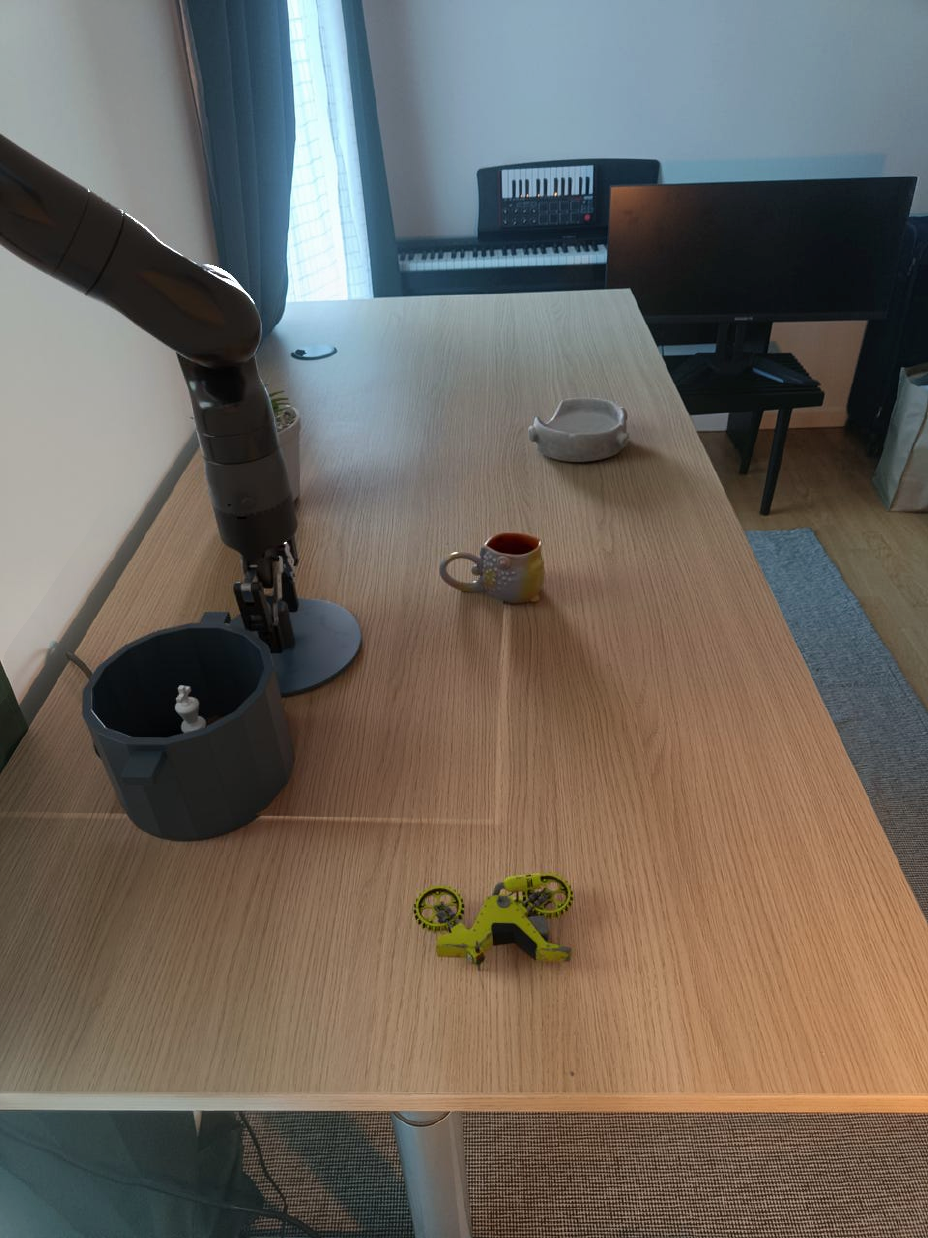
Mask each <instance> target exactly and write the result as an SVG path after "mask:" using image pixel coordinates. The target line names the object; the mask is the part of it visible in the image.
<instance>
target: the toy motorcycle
mask: <svg viewBox="0 0 928 1238" xmlns="http://www.w3.org/2000/svg"><path fill="white" fill-rule="evenodd" d="M550 883H555V884H557V886H558V888H557V889H555V890H551V889H549V888H548V885H549V884H550ZM542 886H543V889H542ZM541 889H542V890H541ZM502 890H505V891H506V892H508V893H509V894H507V893H503V894H500V892H501V891H502ZM539 890H540V891H539ZM519 892H521V893H522V896H519ZM514 894H515V896H516V897H511V896H512V895H514ZM557 894H562V895H563V896H564V897H565V899H564V900H563V901H558V900H556V899H555V896H556V895H557ZM445 895H447V896H449V897H450V900H449V902H447V903H444V901H442V900H441V897H442V896H445ZM430 897H434V898H435V900H436V902H435V903H434V904H432V905H431V904H430V905H429V904H427V902H426V900H427V899H428V898H430ZM573 901H574V890H573V889H572V885H571V884H568V880H567V879H564V877H563V875H561V876H559V875H558V873H556V872H555V873H554V874H553V873H551V871H548V873H545V871H542V873H540V872H536V873H530V874H518V875H510V876H507V877H506V878H505V879H504V880H502V881H499V882H497V883H496V884H495V886H494V888H493V892H492V894H491V895H489V896H487V897H486V899H484V902H483V904H481V907H480V909H479V911H478V913H477V916H476V917H475V919H474V921H473V924H472V926H471V928H470V929H467V927H466V926H465V925H464V923H463V922H461V921H463V919H464V917H463V915H465V902H464V898H463V896H461V892H459V891H458V892H457V889H456V888H455V887H454V888H451V886H450V885H448V886H445V884H443V883H442V884H441V885H439V884H435V886H432V885H430V886H429V888H424V889H423V892H420V891H419V893H418V897H417V896H416V897H415V902H413V907H414V908H413V909H412V911H413V915H414V920H415V921H416V922H417V925H418V926H420V925H421V929H422V930H424V929H426V932H427V933H430V931H431V932H433V934H436V932H437V933H438V932H440V934H439V935H438V937H437V942H436V946H435V947H436V955H437V958H455V959H456V958H457V959H466V962H468V964H469V965H473V966H474V967H477V971H478V972H480V971H481V965H482V963H484V962H485V961H486V952H488V951H489V950H490V948H492V947H493V946H494V947H495V946H502V945H503V946H504V945H511V944H514V945H515V946H517V947H518V948H519V949H520V950H522V951H523V952H524V953H525V954H526V955H528V956H529V958H531V959H533V960H534V961H538V962H559V963H569V962H570V961H571V960H572V957H573V956H572V953H573V948H572V947H569V946H564V945H559V944H556V943H555V944H554V943H550V942H549V929H548V925H547V919H550V921H554V919H557V920H559V919H560V917H561V916H563V917H564V916H565V915H566V912H567V913H569V912H570V908H572V906H573ZM552 903H553V904H554V905H555V908H554V909H552V910H548V909H547V906H548V905H551V904H552ZM451 906H452V907H454V908H455V909H456V911H455V912H454V911H453V910H452V908H451ZM427 909H429V910H432V912H433V914H432V915H431V916H430V917H424V915H423V911H425V910H427ZM529 912H531V913H529ZM435 918H437V919H438V920H437V922H438V923H437V922H436V921H435ZM445 931H446V932H447V933H445V934H443V932H445Z"/></svg>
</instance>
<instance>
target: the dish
mask: <svg viewBox="0 0 928 1238" xmlns="http://www.w3.org/2000/svg"><path fill="white" fill-rule="evenodd" d="M533 421H534V422H533V425H530V426H529V427H528V430H527V431H528V439H529V441H530V442H532V443H535V445H536V448H537V450H538V452H539V453H540V454H542V455H544V456H545V457H548V458H550V459H553V460H557V461H562V462H568V463H569V462H570V463H587V462H594V461H599V460H604V459H607V458H610V457H613V456H615V455H617V454H618V453H619V452H621V450H622V449H624V448H625V447H626V446H627V445H628V444H629V439H630V433H629V432H627V421H628V412H627V410H626V407H624V406H619V405H618V404H617V403H615V402H613V401H611V400H608V399H604V398H598V397H597V398H595V397H574V398H567V399H566V398H565V399H563V400H561V401H560V403H559V404H558V406H557V408H556V410H555V412H554V414H553V415H552V417H551V418H550V420H549V421H548V422H543V421H542V419H541V418H540V416H536V417H535V418H534V420H533Z"/></svg>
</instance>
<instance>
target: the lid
mask: <svg viewBox="0 0 928 1238" xmlns="http://www.w3.org/2000/svg"><path fill="white" fill-rule="evenodd" d="M298 602H299V608H298V611H297V612H289V610H288V605H287V603H286V602H284V601H279V602H278V618H279V624H280V629H281V633H282V638H283V642H284V649H283V652H282V653H271V657H272V661H273V665H274V669H275V673H276V677H277V682H278V686H279V690H280V694H281V698H283V697H290V696H294V695H299V694H303V693H306V692H309V691H311V690H314V689H317V688H319V687H321V686H324V685H325V684H327V683H330V682H331V681H332V680H334V679H336V678H337V677H338V676H340V675H341V674H343V673H344V672H345V671H346V670H347V669H348V668H349V667H350V666H351V665H352V664H353V662H354V661H355V660H356V658H357V656H358V654H359V653H360V650H361V647H362V642H363V637H362V636H363V634H362V629H361V625H360V624H359V622H358V620H357V618H356V617H355V616H354V615H353V613H351V612H350V611H349V610H347V609H346V608H344V607H342V606H341V605H339V604H336V603H334V602H330V601H328V600H322V599H317V598H303V597H301V598H298ZM267 604H268V603H267ZM268 608H269V611H270V606H269V604H268ZM229 625H232V626H236V627H239V628H243V629H245V627H244V624H243V620H242V617H241V614H240V613H239V614H237V615H235V616H234V617H232V618H231V621H230V624H229ZM252 633H254V634H255V635H256V636H257V637H258V638H259V636H258V632H257V631H252Z"/></svg>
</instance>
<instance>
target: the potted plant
mask: <svg viewBox="0 0 928 1238" xmlns="http://www.w3.org/2000/svg"><path fill="white" fill-rule="evenodd" d="M263 384H264V383H263ZM271 384H272V383H271V382H268V383H265V384H264V386H265V387H267V386H269V385H271ZM285 392H286V391H285V390H279V391H274V392H270V393H268V395H269V398H270V401H271V404H272V409H273V413H274V418H275V423H276V428H277V434H278V439H279V443H280V447H281V450H282V453H283V456H284V459H285V462H286V466H287V471H288V476H289V481H290V486H291V492H292V497H293V502H295V501H296V500H297V498H298V497H299V495H300V490H301V489H300V488H301V449H300V447H301V443H300V432H301V425H302V424H301V423H302V422H301V413H300V411H298V410H297V408H295V407H293V406H291V403H289V402H281V401H289V398H288V397H277V398H272V397H274V396H276V395H279V394H282V393H285ZM271 398H272V399H271ZM189 418H190V419H191V420H194V418H193V417H192V416H190V417H189Z"/></svg>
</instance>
